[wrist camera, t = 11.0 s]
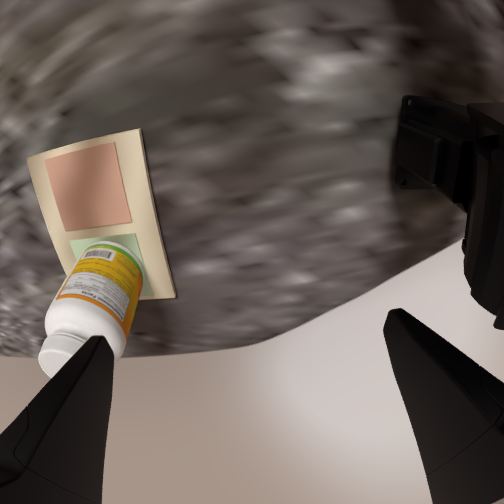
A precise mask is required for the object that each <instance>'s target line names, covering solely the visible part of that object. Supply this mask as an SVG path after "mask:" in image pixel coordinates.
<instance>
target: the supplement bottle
mask: <svg viewBox="0 0 504 504" xmlns="http://www.w3.org/2000/svg"><path fill="white" fill-rule="evenodd" d="M143 283H144V271H143V268H142V265H141V263H140V261H139V260H138V258H137V257H136V256H135V255H134V254H133V253H132V252H131V251H130V250H129V249H127V248H126V247H124V246H122V245H120V244H118V243H114V242H110V241H99V242H95V243H93V244H91V245H89V246H88V247H87V248H85V250H84V251H83V252H82V254H81V255H80V256H79V258H78V260H77V261H76V263H75V264H74V266H73V268H72V269H71V271H70V273H69V274H68V276H67V278H66V279H65V281H64V283H63V284H62V286H61V288H60V289H59V291H58V293H57V295H56V296H55V298H54V300H53V302H52V303H51V305H50V307H49V309H48V311H47V314H46V317H45V329H46V333H47V336H48V337H47V338H46V339H45V341H44V343H43V346H42V348H41V351H40V353H39V357H38V359H39V364H40V366H41V368H42V369H43V370H44V372H45V373H46V374H47V375H48V376H49V377H51V378H52V377H53V376H54V375H55V374H56V373H57V372H58V371H59V370H60V369H61V367H62V366H63V365H64V364H65V363H66V362H67V361H68V360H69V359H70V358H71V357H72V356H73V355H74V354H75V353H76V352H77V350H78V349H79V348H80V347H81V346H82V345H83V344H84V343H85V342H86V341H87V340H88V339H89V338H90V337H91V336H93V335H103V336H104V337H105V338H106V339H107V341H108V343H109V345H110V347H111V348H112V350H113V352H114V363H115V362H116V361H118V360H119V359H120V357H121V356H122V354H123V352H124V349H125V346H126V342H127V338H128V335H129V331H130V328H131V324H132V321H133V317H134V314H135V311H136V307H137V304H138V300H139V297H140V294H141V291H142V287H143Z"/></svg>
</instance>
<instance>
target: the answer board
mask: <svg viewBox="0 0 504 504" xmlns="http://www.w3.org/2000/svg"><path fill="white" fill-rule="evenodd" d="M27 162H28V166H29V170H30V174H31V178H32V181H33V185H34V188H35V192H36V195H37V198H38V201H39V204H40V208H41V211H42V214H43V217H44V219H45V222H46V225H47V228H48V231H49V233H50V236H51V239H52V241H53V244H54V246H55V249H56V252H57V254H58V256H59V259H60V261H61V264H62V266H63V268H64V271H65V273H66V275H67V276H68V274H69V273H70V271H71V269H72V268H73V266H74V264H75V263H76V261H77V260H78V258H79V256H80V255H81V254H82V252H83V251H84V250H85V248H87V247H88V246H89V245H91V244H93V243H95V242H99V241H110V242H114V243H118V244H120V245H122V246H124V247H126V248H127V249H129V250H130V251H131V252H132V253H133V254H134V255H135V256H136V257H137V258H138V260H139V261H140V263H141V265H142V268H143V271H144V283H143V287H142V291H141V294H140V297H139V300H147V299H164V298H175V297H176V291H175V287H174V284H173V280H172V276H171V272H170V268H169V264H168V260H167V256H166V252H165V248H164V244H163V240H162V235H161V231H160V227H159V222H158V217H157V213H156V208H155V203H154V198H153V193H152V188H151V183H150V178H149V173H148V167H147V162H146V156H145V150H144V144H143V138H142V131H141V128H140V129H135V130H130V131H125V132H120V133H115V134H111V135H106V136H102V137H98V138H94V139H89V140H85V141H82V142H78V143H74V144H70V145H67V146H63V147H60V148H56V149H53V150H50V151H46V152H43V153H40V154H37V155H34V156H31V157H29V158H27Z"/></svg>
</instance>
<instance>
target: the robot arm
mask: <svg viewBox="0 0 504 504" xmlns="http://www.w3.org/2000/svg"><path fill="white" fill-rule="evenodd" d="M409 99H410V100H411V105H408V100H409ZM467 112H468V114H467ZM396 161H397V170H396V178H395V183H396V185H397V186H398V187H400V188H401V189H435V190H437V191H438V192H439V193H441V194H442V195H443V196H445V197H446V198H447V199H449V200H450V201H451V202H453V203H454V204H455V205H456V206H458V207H459V208H460V209H462V210H463V211H464V212H465V213H467V221H466V230H465V237H464V239H463V241H462V251H463V253H464V255H465V257H464V275H465V277H466V279H467V281H468V284H469V286H470V288H471V296H472V297H473V298H474V299H475V300H476V301H477V302H478V304H479V305H481V306H482V307H483V308H485V309H486V310H487V311H489V312H490V313H492V314H493V315H496V316H497V317H496V319H495V321H494V324H493V326H494V328H496V329H500V330H504V103H472V104H467V106H463V105H459V104H455V103H450V102H446V101H441V100H436V99H431V98H425V97H420V96H413V95H405V96H404V97H403V98H402V107H401V124H400V126H399V134H398V147H397V157H396ZM402 179H404V182H403V183H401V180H402ZM383 332H384V337H385V341H386V345H387V349H388V353H389V356H390V361H391V364H392V368H393V372H394V375H395V378H396V381H397V384H398V387H399V390H400V392H401V395H402V398H403V401H404V404H405V407H406V410H407V413H408V415H409V419H410V422H411V425H412V428H413V432H414V435H415V438H416V441H417V445H418V448H419V451H420V455H421V459H422V462H423V466H424V469H425V473H426V476H427V477H426V478H427V481H428V485H429V489H430V494H431V498H432V502H433V504H504V383H503V382H502V381H500V380H499V379H497V378H496V377H495V376H493V375H492V374H491V373H489V372H488V371H487V370H485V369H484V368H482V367H481V366H479V365H478V364H477V363H476V362H474V361H473V360H472V359H471V358H469V357H468V356H466V355H465V354H464V353H463V352H461V351H460V350H459V349H457V348H456V347H455V346H453V345H452V344H451V343H449V342H447V341H446V340H445V339H444V338H442V337H441V336H440V335H438V334H437V333H436V332H434V331H433V330H431V329H430V328H429V327H427V326H426V325H425V324H423V323H422V322H420V321H419V320H418V319H416V318H415V317H413V316H412V315H411V314H409V313H408V312H406V311H405V310H403V309H402V308H398V309H392V310H390V311H389V312H388V315H387V318H386V321H385V324H384V328H383ZM113 370H114V352H113V350H112V348H111V347H110V345H109V343H108V341H107V339H106V338H105V337H104V336H103V335H93V336H91V337H90V338H89V339H88V340H87V341H86V342H85V343H84V344H83V345H82V346H81V347H80V348H79V349H78V350H77V352H76V353H75V354H74V355H73V356H72V357H71V358H70V359H69V360H68V361H67V362H66V363H65V364H64V365H63V366H62V367H61V369H60V370H59V371H58V372H57V373H56V374H55V375H54V376H53V377H52V378H51V379H50V381H49V382H48V383H47V384H46V385H45V386H44V387H43V388H42V389H41V390H40V392H39V393H38V394H37V395H36V396H35V397H34V398H33V400H32V401H31V402H30V403H29V404H28V406H26V407H25V409H24V410H23V411H22V412H21V413H20V414H19V415H18V417H17V418H16V419H15V420H14V421H13V422H12V423H11V424H10V425H9V426H8V427H7V428H6V429H5V430H4V431H3V432H2V434H0V504H102V484H103V470H104V458H105V448H106V439H107V431H108V423H109V415H110V408H111V401H112V386H113Z"/></svg>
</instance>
